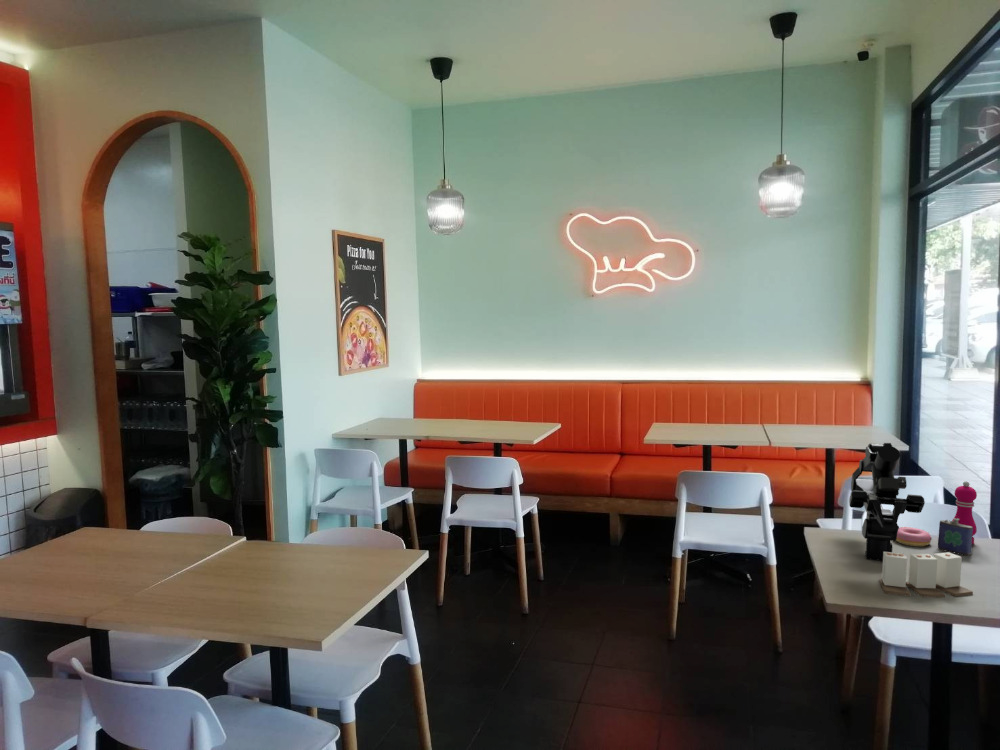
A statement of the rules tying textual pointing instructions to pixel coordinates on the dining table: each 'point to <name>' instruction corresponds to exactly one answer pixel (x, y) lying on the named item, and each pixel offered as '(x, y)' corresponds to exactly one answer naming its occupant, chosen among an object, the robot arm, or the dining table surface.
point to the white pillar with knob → (948, 569)
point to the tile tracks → (925, 590)
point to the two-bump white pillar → (922, 571)
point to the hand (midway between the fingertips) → (888, 527)
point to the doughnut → (913, 536)
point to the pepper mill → (965, 506)
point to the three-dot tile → (894, 569)
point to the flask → (955, 537)
